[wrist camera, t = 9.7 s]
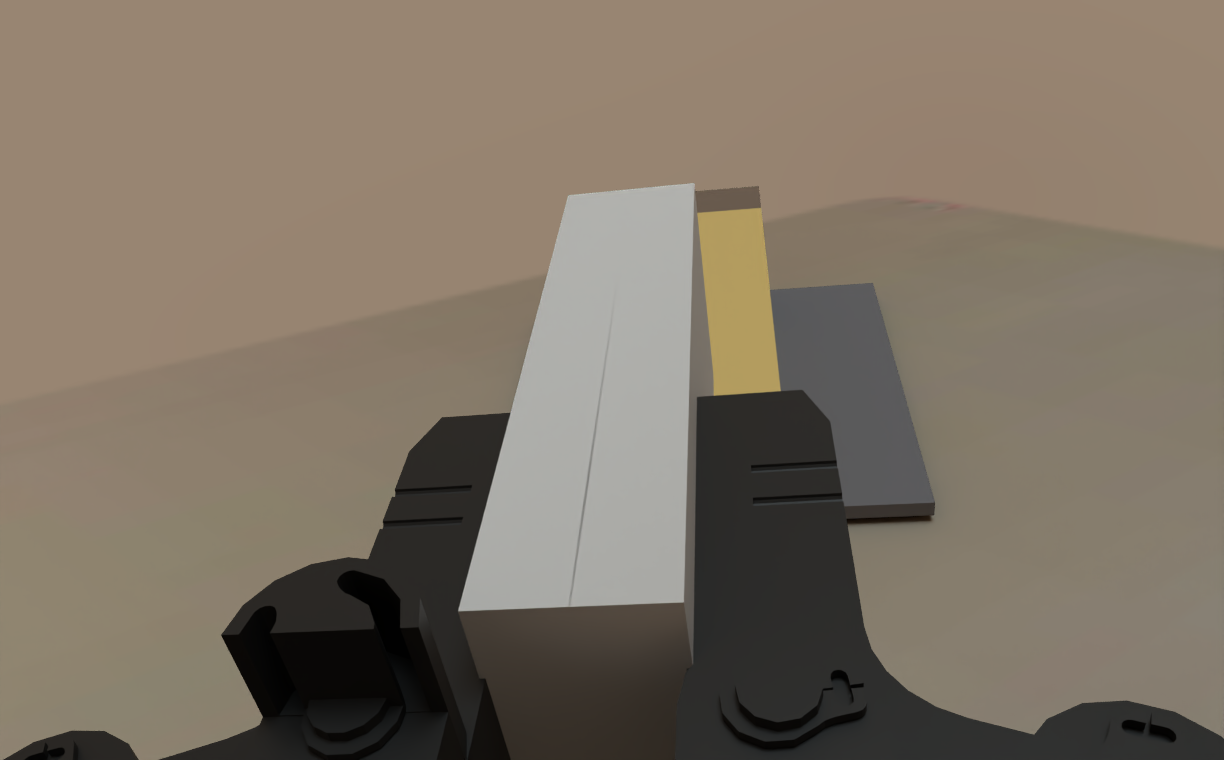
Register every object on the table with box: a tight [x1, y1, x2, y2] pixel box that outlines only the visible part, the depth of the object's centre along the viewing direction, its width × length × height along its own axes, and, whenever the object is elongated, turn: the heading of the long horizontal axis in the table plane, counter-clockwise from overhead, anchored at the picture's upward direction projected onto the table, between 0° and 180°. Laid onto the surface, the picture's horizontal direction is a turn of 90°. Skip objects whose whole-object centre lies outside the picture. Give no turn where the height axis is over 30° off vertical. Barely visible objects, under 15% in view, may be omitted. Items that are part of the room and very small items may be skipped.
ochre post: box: [695, 186, 781, 396], centre depth 35 cm, size 5×5×14 cm
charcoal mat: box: [770, 283, 935, 519], centre depth 38 cm, size 14×14×1 cm
